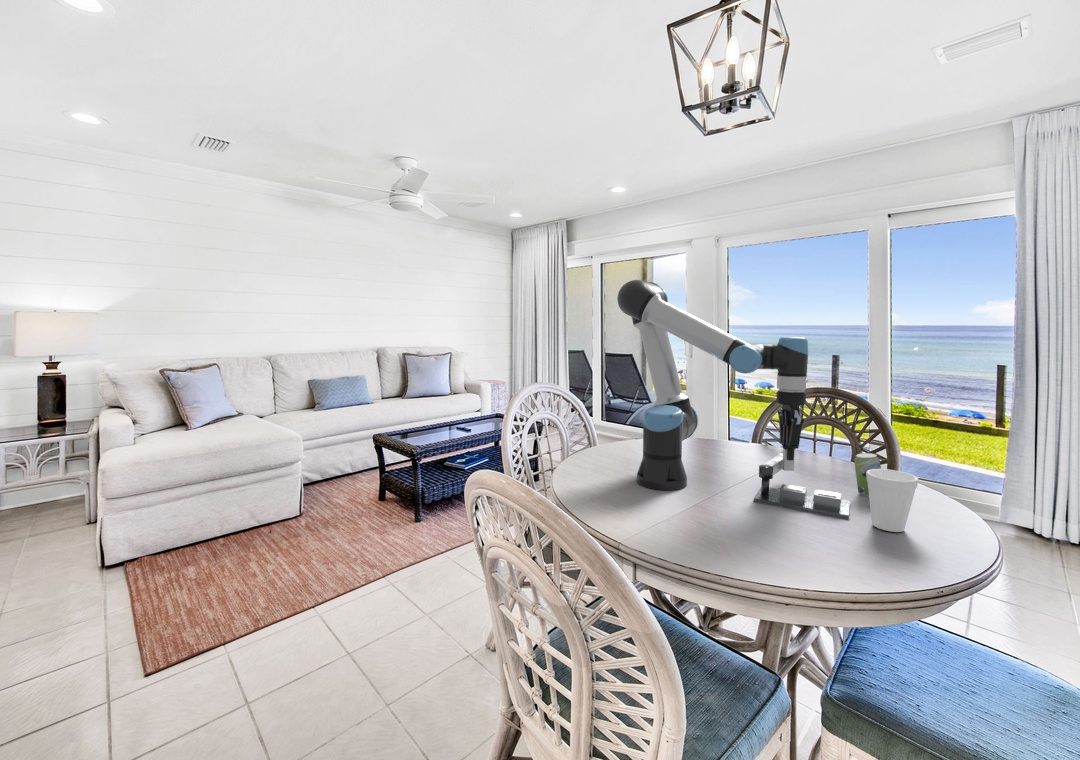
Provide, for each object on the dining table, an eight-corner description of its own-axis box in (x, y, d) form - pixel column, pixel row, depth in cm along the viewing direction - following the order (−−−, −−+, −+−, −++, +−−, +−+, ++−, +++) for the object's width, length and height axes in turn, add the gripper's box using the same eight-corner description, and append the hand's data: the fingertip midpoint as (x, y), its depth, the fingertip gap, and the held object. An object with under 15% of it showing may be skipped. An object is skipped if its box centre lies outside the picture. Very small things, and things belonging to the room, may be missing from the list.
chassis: (753, 501, 131) (754, 481, 130) (761, 489, 141) (762, 470, 140) (848, 519, 119) (850, 497, 118) (849, 504, 128) (851, 483, 128)
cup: (917, 540, 106) (922, 484, 105) (863, 531, 112) (867, 477, 110) (911, 525, 115) (915, 472, 113) (861, 516, 120) (865, 466, 119)
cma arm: (770, 480, 131) (771, 469, 130) (756, 477, 133) (757, 466, 133) (793, 462, 147) (793, 452, 147) (780, 460, 150) (781, 450, 149)
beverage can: (887, 500, 131) (890, 457, 130) (858, 498, 133) (860, 456, 132) (876, 492, 138) (879, 452, 136) (848, 490, 139) (851, 450, 138)
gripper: (815, 393, 130) (811, 476, 133) (796, 387, 143) (792, 464, 145) (786, 393, 131) (782, 476, 134) (769, 387, 144) (766, 463, 146)
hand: (787, 469), depth 140 cm, fingers closed
